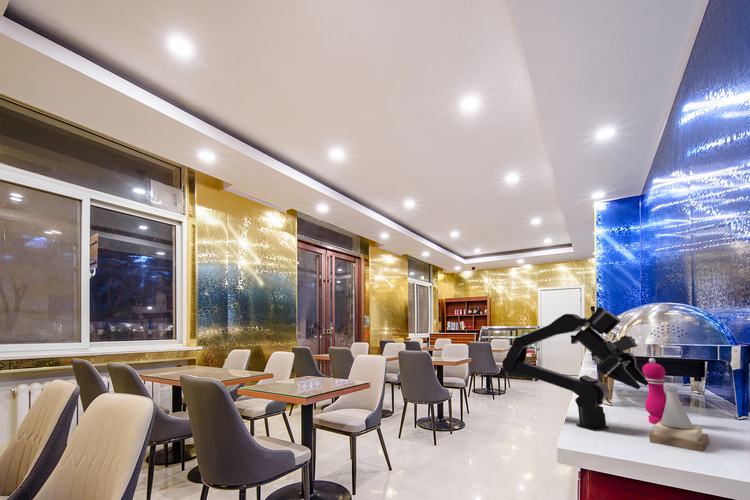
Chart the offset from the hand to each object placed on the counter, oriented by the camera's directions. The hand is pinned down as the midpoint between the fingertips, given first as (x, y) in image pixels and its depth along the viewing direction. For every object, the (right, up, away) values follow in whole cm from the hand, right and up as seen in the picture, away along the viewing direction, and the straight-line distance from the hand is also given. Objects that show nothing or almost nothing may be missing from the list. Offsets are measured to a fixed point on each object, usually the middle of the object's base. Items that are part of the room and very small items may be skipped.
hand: (643, 386), depth 108 cm
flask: (+5, -9, -6) cm, 12 cm away
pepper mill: (+14, -16, +12) cm, 25 cm away
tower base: (+5, -12, -7) cm, 15 cm away
